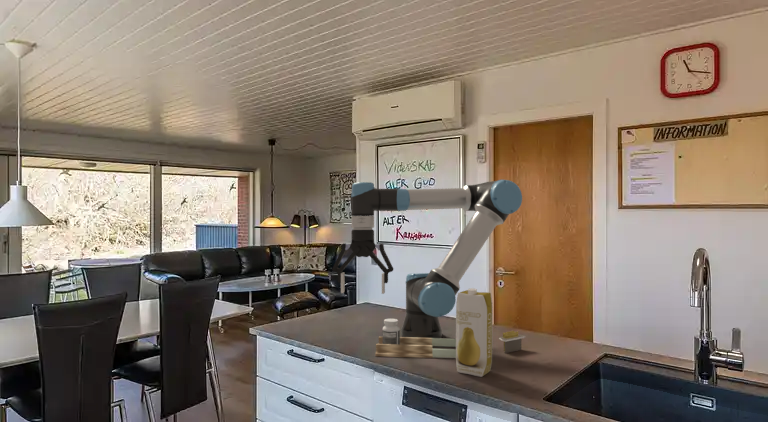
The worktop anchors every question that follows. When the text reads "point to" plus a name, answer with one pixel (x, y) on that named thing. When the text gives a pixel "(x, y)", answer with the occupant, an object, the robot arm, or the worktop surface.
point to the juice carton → (474, 332)
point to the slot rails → (406, 348)
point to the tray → (444, 352)
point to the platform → (511, 341)
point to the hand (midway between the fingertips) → (362, 292)
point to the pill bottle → (391, 332)
